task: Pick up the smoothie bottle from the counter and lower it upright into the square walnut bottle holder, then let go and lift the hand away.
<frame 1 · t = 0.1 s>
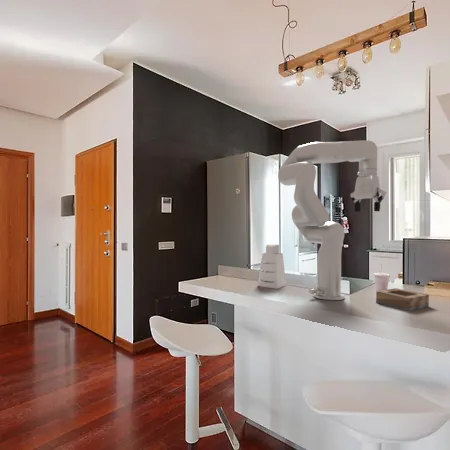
hand: (367, 211, 148), 37 cm above the table, tool pointing down, fingers open, 9 cm apart
holder: (401, 304, 126), on the table
smoothie: (381, 297, 139), on the table
grater: (271, 285, 159), on the table
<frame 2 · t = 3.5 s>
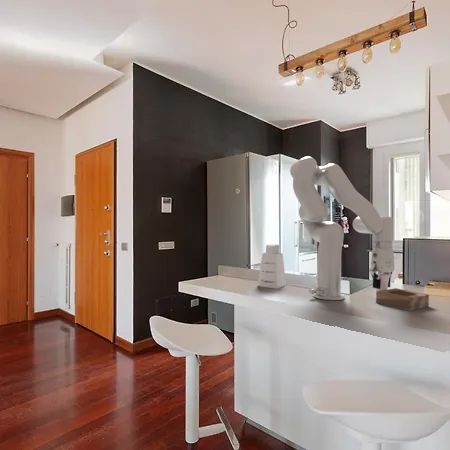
hand: (381, 287, 139), 4 cm above the table, tool pointing down, fingers closed on smoothie, 6 cm apart
smoothie: (381, 297, 139), on the table, touching gripper
everything else where it was.
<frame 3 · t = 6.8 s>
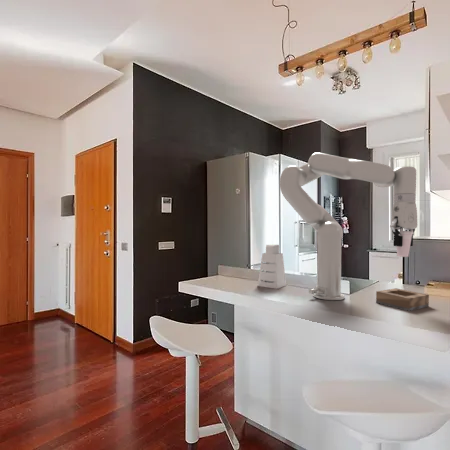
hand: (403, 245, 126), 23 cm above the table, tool pointing down, fingers closed on smoothie, 6 cm apart
smoothie: (402, 256, 126), point 19 cm above the table, touching gripper
everything else where it was.
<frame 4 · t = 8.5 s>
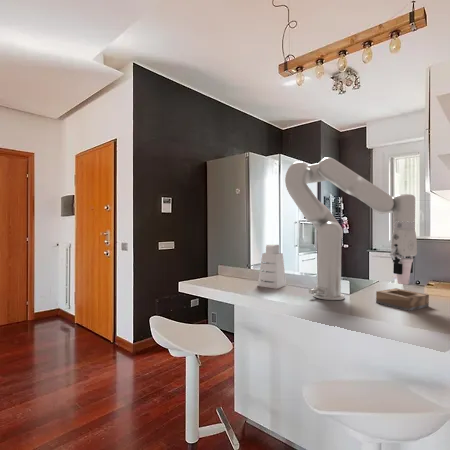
hand: (403, 272, 126), 12 cm above the table, tool pointing down, fingers closed on smoothie, 6 cm apart
smoothie: (403, 284, 126), point 8 cm above the table, touching gripper
everything else where it was.
when the fingers open (7 cm above the table, at t = 10.1 s): smoothie drops 2 cm, resting on holder.
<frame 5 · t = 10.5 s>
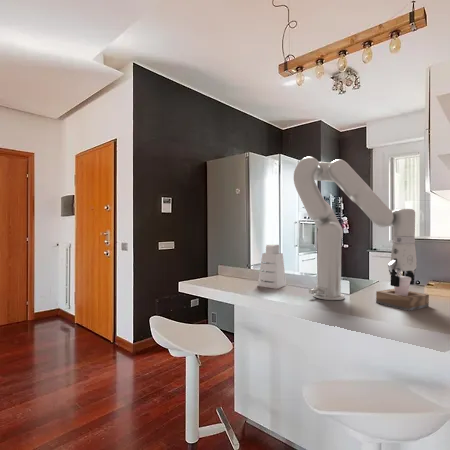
hand: (402, 285, 126), 8 cm above the table, tool pointing down, fingers open, 9 cm apart
smoothie: (401, 302, 126), point 1 cm above the table, touching holder
everything else where it was.
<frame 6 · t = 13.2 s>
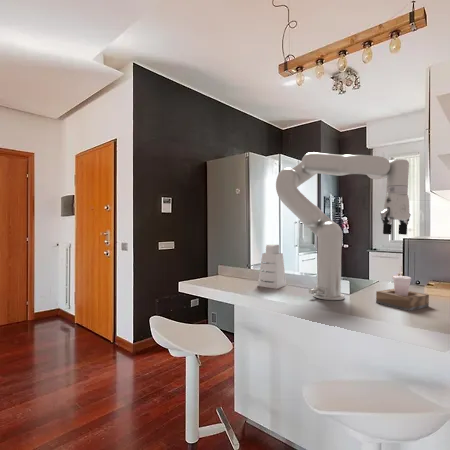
hand: (394, 234, 130), 27 cm above the table, tool pointing down, fingers open, 9 cm apart
nothing on the table moved.
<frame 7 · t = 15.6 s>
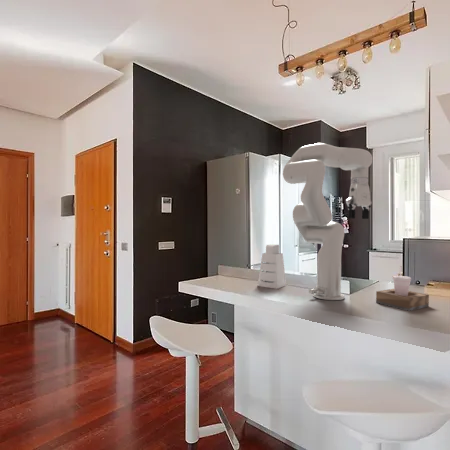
hand: (358, 218, 153), 33 cm above the table, tool pointing down, fingers open, 9 cm apart
nothing on the table moved.
at the end: smoothie 0.3 cm off-centre on the holder, point 0.8 cm above the holder's base; smoothie tilted 0°; the gripper is holding nothing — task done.
